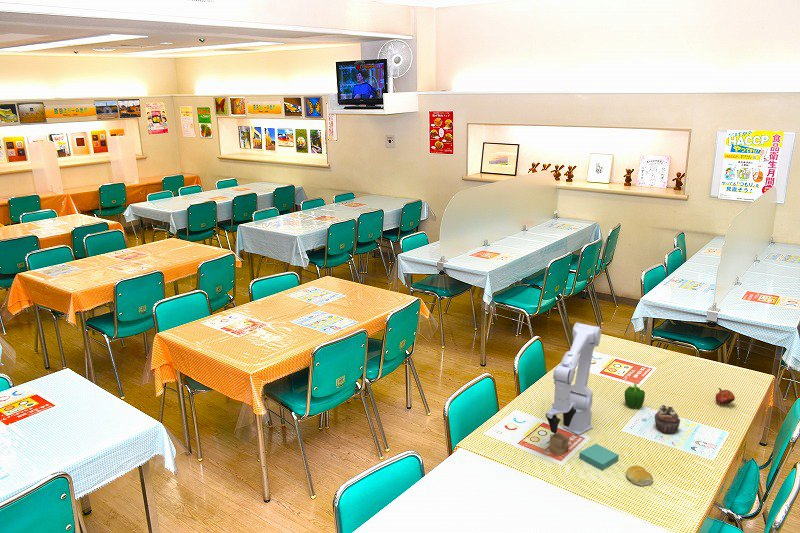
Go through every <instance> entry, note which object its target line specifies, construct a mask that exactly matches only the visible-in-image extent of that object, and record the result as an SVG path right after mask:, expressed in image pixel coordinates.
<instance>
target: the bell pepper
mask: <svg viewBox="0 0 800 533" xmlns="http://www.w3.org/2000/svg"><path fill="white" fill-rule="evenodd" d="M645 395H646V392H645V390H643V389H641V388H640V387H638V385H637V383H635V382H634V383H633V386H630V385H629V386H628V387H627V388H626V389H625V391H624V401H625V402H624V403H625V404H626V406H627V407H628V408H630V409H640V408H641V407H642V406H643V404H644V402H645V397H646V396H645Z"/></svg>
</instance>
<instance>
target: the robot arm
mask: <svg viewBox="0 0 800 533" xmlns="http://www.w3.org/2000/svg"><path fill="white" fill-rule="evenodd" d="M601 336H602V329H601V327H600V326H594V325H590V324H585V323H580V322H575V323H574V325H573V327H572V339H573V342H572V345H571V347H570V350H568V351H566V352H565V354H564V355H563V357H562V359H561V362H560V363H559V364H558V365H556V366H555V367H554V369H553V375H552V377H553V384H554V395H553V396H554V397H553V398H554V399H553V403H551V408H550V409H549V410H548V411H546V413H545V419H547V421H548V424H549V428H550V432H551V433H552V434H553V435H554V434H556V433H558V428H559V426H558V425H559V423H560V422H561V420H563V422H562V423H563V426H562V428H563V429H565V430H567V431H570V432H571V433H573V434H575V435H578V436H579V435H581V434H584V433H585V432H587V431H589V430H591V429H593V425H592V410H591V409H592V407H593V406H592V405H593V398H594V397H593V396H594V395H593V392H592V390H591V389H590V388H589V387H588V383H589V375H590V372H591V371H590V369H591V365H592V359H593V355H594V354H593V353H594V350H595V348H596V347H599V345H600V343H601ZM576 369H577V370H576ZM575 374H576V375H575ZM574 378H575V381H574ZM573 381H574V384H573ZM561 414H562V419H561V418H560V417H558V415H561Z"/></svg>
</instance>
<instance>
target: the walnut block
mask: <svg viewBox="0 0 800 533" xmlns="http://www.w3.org/2000/svg"><path fill="white" fill-rule="evenodd" d="M569 442H570V438H569V436H566V435H565V434H563V433H560V432H559V431H557V432H556V434H554V433H553V434H552V435H550V436H549V443H548V445H549V446H548V451H550V452H551V453H553V454H554V455H557V456H558V457H561V456H562V455H564V454H566V453H568V452H569Z"/></svg>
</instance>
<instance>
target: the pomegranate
mask: <svg viewBox="0 0 800 533" xmlns="http://www.w3.org/2000/svg"><path fill="white" fill-rule="evenodd" d="M717 390H719V391H718V392H717V393H716V394H715V397H714V398H715V401H716V403H717V404H718V405H720V406H723V405H728V406H729V409H730V410H732V408H731V406H730V404H731V403H732V402H734V401H735V399H736V397H735V394H734V393H733V392H732V391H731V390H729V389H723V390H722V389H721V387H719V388H718V389H717Z"/></svg>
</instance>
